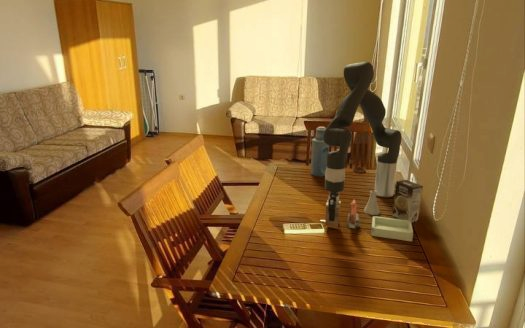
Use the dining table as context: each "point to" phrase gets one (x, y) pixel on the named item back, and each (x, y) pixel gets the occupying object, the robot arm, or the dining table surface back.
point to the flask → (372, 204)
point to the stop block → (337, 215)
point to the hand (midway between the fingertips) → (332, 217)
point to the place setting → (357, 168)
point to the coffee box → (407, 200)
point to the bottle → (319, 154)
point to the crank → (353, 215)
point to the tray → (392, 228)
